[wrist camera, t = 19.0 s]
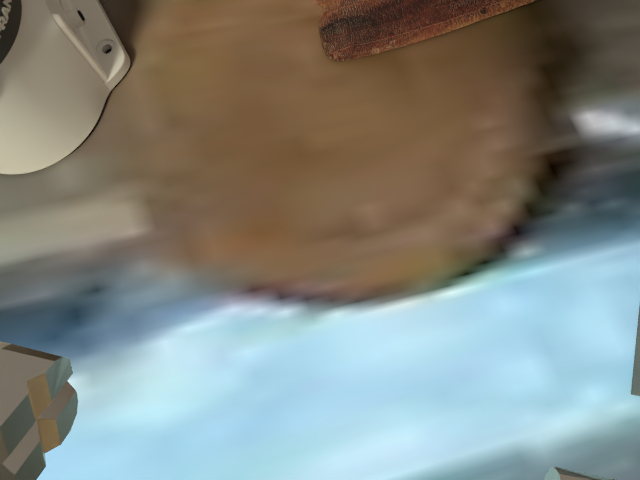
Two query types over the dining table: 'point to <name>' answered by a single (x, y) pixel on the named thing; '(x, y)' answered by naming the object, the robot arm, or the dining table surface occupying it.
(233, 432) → the dining table surface
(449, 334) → the dining table surface
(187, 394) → the dining table surface
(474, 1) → the wooden tablet
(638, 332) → the stand
